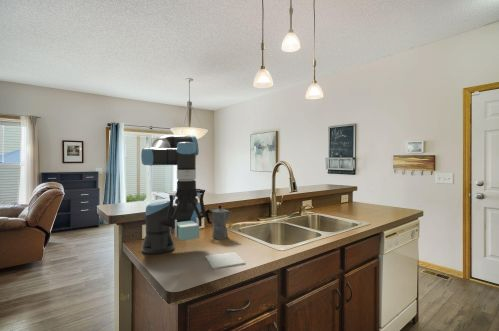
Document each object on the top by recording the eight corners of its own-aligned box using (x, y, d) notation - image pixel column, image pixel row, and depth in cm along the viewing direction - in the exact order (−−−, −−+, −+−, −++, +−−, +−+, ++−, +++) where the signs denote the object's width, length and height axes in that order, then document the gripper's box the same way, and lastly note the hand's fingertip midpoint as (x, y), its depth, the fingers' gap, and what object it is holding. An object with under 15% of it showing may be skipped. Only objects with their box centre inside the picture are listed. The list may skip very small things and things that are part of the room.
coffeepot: (232, 234, 156) (232, 204, 156) (229, 239, 147) (229, 207, 147) (207, 233, 158) (207, 203, 158) (202, 238, 149) (202, 206, 149)
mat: (205, 257, 121) (205, 256, 121) (234, 253, 126) (234, 251, 126) (213, 269, 108) (213, 267, 108) (245, 263, 113) (245, 262, 113)
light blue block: (174, 234, 112) (174, 222, 112) (192, 231, 116) (192, 220, 116) (180, 240, 103) (180, 227, 103) (199, 237, 107) (199, 225, 107)
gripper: (159, 181, 102) (160, 240, 102) (213, 180, 109) (213, 235, 109) (159, 180, 109) (159, 235, 109) (210, 178, 116) (210, 230, 116)
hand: (186, 235), depth 109 cm, fingers closed on light blue block, 8 cm apart
